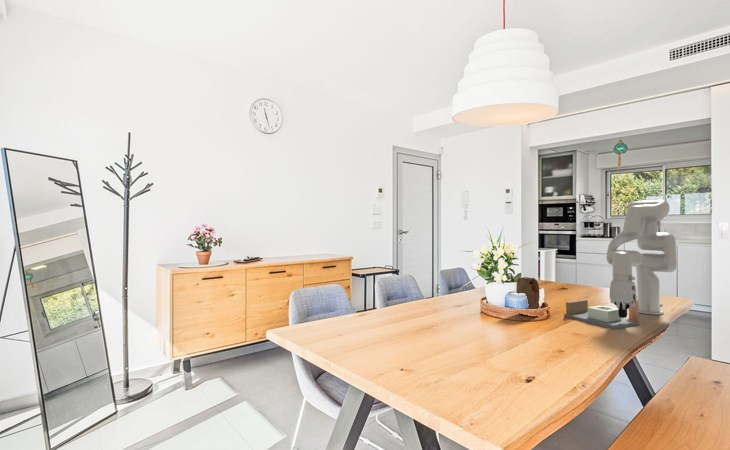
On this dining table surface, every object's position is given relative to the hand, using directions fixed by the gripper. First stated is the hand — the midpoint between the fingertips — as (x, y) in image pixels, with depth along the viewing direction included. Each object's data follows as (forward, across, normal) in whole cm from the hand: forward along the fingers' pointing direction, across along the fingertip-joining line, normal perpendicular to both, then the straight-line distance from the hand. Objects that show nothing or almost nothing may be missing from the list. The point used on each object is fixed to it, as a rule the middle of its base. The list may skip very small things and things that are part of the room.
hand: (622, 317), depth 176 cm
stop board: (+4, +11, 0) cm, 12 cm away
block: (+4, +35, +21) cm, 41 cm away
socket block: (+3, +9, 0) cm, 9 cm away
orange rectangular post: (+4, +3, -14) cm, 14 cm away
